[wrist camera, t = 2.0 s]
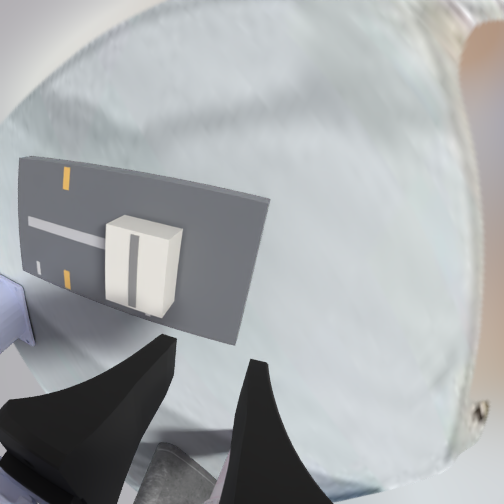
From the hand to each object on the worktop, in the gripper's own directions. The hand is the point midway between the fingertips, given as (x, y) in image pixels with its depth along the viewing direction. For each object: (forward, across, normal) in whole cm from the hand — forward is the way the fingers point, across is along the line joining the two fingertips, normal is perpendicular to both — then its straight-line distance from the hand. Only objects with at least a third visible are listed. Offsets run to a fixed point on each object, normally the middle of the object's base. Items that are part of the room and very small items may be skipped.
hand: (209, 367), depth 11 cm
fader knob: (+8, +6, 0) cm, 10 cm away
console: (+9, +10, 0) cm, 13 cm away
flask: (+10, 0, +30) cm, 32 cm away
